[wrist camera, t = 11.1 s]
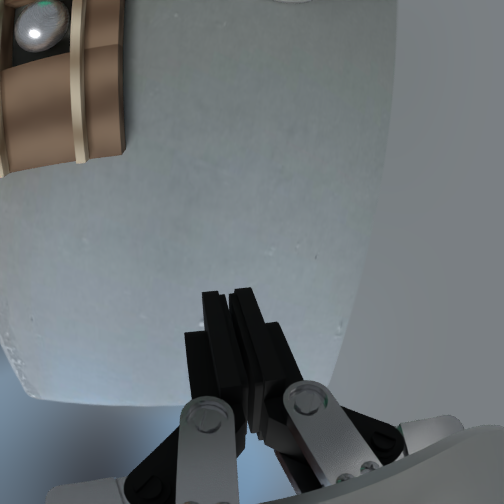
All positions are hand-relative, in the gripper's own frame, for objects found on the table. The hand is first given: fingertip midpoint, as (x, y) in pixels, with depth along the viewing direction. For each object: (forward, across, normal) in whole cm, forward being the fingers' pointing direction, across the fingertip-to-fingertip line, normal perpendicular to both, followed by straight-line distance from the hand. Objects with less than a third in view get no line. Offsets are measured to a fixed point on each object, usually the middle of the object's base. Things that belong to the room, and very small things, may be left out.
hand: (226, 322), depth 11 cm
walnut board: (+27, +16, -12) cm, 34 cm away
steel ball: (+24, +15, -16) cm, 33 cm away
